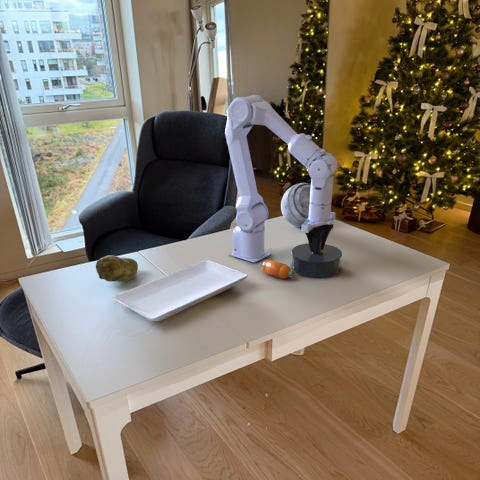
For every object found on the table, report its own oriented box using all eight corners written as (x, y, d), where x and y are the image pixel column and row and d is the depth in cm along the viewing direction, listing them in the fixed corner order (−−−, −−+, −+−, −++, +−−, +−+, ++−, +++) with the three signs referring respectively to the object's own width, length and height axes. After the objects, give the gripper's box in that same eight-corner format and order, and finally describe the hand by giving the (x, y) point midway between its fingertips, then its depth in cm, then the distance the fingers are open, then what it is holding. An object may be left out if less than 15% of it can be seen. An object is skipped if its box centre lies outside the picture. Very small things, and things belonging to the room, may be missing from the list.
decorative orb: (297, 235, 152) (299, 191, 144) (272, 224, 162) (273, 182, 155) (329, 227, 159) (333, 184, 151) (303, 216, 169) (305, 176, 162)
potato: (148, 278, 124) (145, 251, 120) (106, 292, 117) (101, 264, 113) (133, 269, 129) (129, 243, 125) (92, 282, 122) (86, 255, 118)
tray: (112, 308, 110) (110, 295, 108) (207, 269, 129) (206, 258, 127) (154, 333, 99) (152, 319, 98) (249, 286, 119) (249, 274, 117)
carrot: (259, 273, 125) (259, 260, 123) (267, 269, 128) (268, 256, 126) (288, 283, 120) (288, 269, 118) (296, 278, 123) (297, 265, 121)
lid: (285, 262, 123) (286, 246, 120) (297, 244, 134) (298, 229, 132) (337, 268, 118) (339, 252, 116) (345, 249, 130) (347, 234, 127)
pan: (287, 274, 125) (287, 259, 123) (298, 257, 135) (299, 243, 133) (334, 280, 121) (336, 265, 119) (341, 262, 132) (343, 248, 129)
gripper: (319, 211, 111) (315, 261, 118) (347, 198, 121) (342, 246, 128) (295, 206, 115) (293, 255, 122) (324, 194, 125) (320, 240, 132)
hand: (316, 250), depth 125 cm, fingers closed on lid, 2 cm apart
